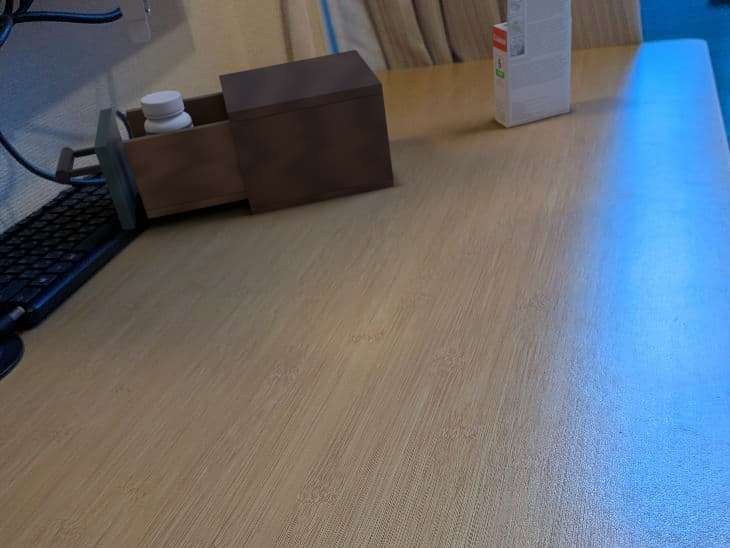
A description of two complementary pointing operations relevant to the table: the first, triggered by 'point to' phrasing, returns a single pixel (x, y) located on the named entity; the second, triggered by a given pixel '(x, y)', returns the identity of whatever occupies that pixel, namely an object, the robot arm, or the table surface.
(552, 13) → the ink box
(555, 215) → the table surface
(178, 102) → the pill bottle
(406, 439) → the table surface
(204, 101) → the drawer
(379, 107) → the cabinet
